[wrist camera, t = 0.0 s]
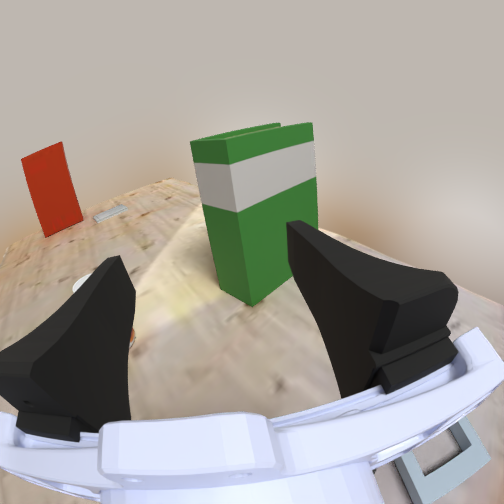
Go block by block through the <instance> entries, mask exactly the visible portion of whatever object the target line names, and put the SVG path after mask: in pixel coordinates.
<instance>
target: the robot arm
mask: <svg viewBox="0 0 504 504" xmlns="http://www.w3.org/2000/svg"><path fill="white" fill-rule="evenodd" d="M286 230H287V249H288V263H289V266H290V269H291V272H292V274H293V277H294V280H295V282H296V284H297V286H298V288H299V290H300V292H301V293H302V295H303V297H304V299H305V301H306V303H307V305H308V307H309V309H310V311H311V313H312V314H313V316H314V318H315V320H316V323H317V325H318V327H319V330H320V332H321V335H322V338H323V341H324V343H325V346H326V349H327V352H328V355H329V358H330V361H331V364H332V367H333V370H334V374H335V377H336V380H337V384H338V387H339V391H340V395H341V398H342V399H340V400H337V401H334V402H331V403H328V404H324V405H321V406H318V407H314V408H311V409H307V410H304V411H300V412H296V413H292V414H288V415H284V416H280V417H276V418H271V419H267V418H266V417H265V416H263V415H261V414H256V413H249V412H243V411H242V412H227V413H216V414H208V415H201V416H192V417H182V418H171V419H156V420H131V414H130V406H129V395H128V353H129V346H130V339H131V333H132V327H133V320H134V314H135V300H136V291H135V289H134V286H133V284H132V282H131V280H130V278H129V275H128V273H127V271H126V269H125V266H124V264H123V262H122V259H121V257H120V255H119V256H114V257H110V258H107V259H106V260H105V261H104V262H103V263H102V264H101V265H100V266H99V267H98V268H97V269H96V270H95V271H94V272H93V273H92V274H91V275H90V276H89V277H88V279H87V280H86V281H85V282H84V283H83V284H82V285H81V286H80V287H79V288H78V289H77V291H76V292H75V293H74V294H73V295H72V296H71V297H70V298H69V299H68V300H67V301H66V302H65V303H64V304H63V305H62V306H61V307H60V308H59V309H58V310H57V311H56V312H55V313H54V314H53V315H52V316H50V317H49V318H48V319H47V320H46V321H44V322H43V323H42V324H41V325H39V326H38V327H37V328H36V329H35V330H33V331H32V332H30V333H29V334H28V335H26V336H25V337H23V338H22V339H20V340H19V341H17V342H16V343H14V344H13V345H11V346H9V347H7V348H6V349H4V350H2V351H1V352H0V395H1V396H2V397H3V398H4V399H5V400H6V401H8V402H9V403H10V404H11V405H12V406H14V407H15V408H16V409H17V410H19V412H18V417H17V416H15V415H13V414H10V413H6V412H1V411H0V468H2V469H3V470H5V471H7V472H9V473H11V474H13V475H15V476H17V477H19V478H21V479H23V480H25V481H28V482H30V483H33V484H36V485H39V486H42V487H45V488H48V489H51V490H54V491H58V492H61V493H65V494H68V495H72V496H76V497H80V498H84V499H88V500H93V501H98V502H101V504H385V503H384V501H383V498H382V495H381V493H380V490H379V487H378V485H377V482H376V480H375V477H374V474H373V472H372V470H374V469H376V468H378V467H380V466H382V465H384V464H386V463H388V462H391V461H393V460H394V459H396V458H398V457H400V456H402V455H404V454H406V453H408V452H410V451H411V450H413V449H415V448H417V447H418V446H420V445H422V444H424V443H425V442H427V441H429V440H430V439H432V438H433V437H435V436H437V435H438V434H440V433H441V432H443V431H444V430H446V429H447V428H449V427H450V426H452V425H453V424H455V423H456V422H458V421H459V420H460V419H462V418H463V417H465V416H466V415H467V414H469V413H470V412H471V411H473V410H474V409H475V408H477V407H478V406H479V405H480V404H481V403H482V402H483V401H484V400H485V399H486V398H487V397H488V396H490V395H491V394H492V393H493V392H494V390H495V389H496V388H497V387H498V386H499V385H500V384H501V383H502V382H503V381H504V362H503V361H502V360H501V358H500V357H499V355H498V354H497V352H496V351H495V350H494V348H493V347H492V346H491V344H490V343H489V341H488V340H487V339H486V337H485V336H484V335H483V334H482V332H481V331H480V330H479V328H478V327H475V328H473V329H471V330H470V331H468V332H466V333H464V334H463V335H461V336H459V337H458V338H457V339H456V340H455V341H454V342H453V343H452V342H451V340H450V339H449V337H448V336H450V334H451V332H450V330H449V329H448V327H447V326H446V325H447V323H448V321H449V319H450V317H451V315H452V313H453V310H454V308H455V306H456V303H457V300H458V289H457V287H456V286H455V285H454V284H453V283H452V281H451V280H450V279H449V278H448V277H447V276H446V275H445V274H444V273H443V272H439V271H431V270H424V269H417V268H413V267H408V266H403V265H399V264H395V263H392V262H388V261H385V260H382V259H379V258H376V257H373V256H370V255H368V254H365V253H363V252H360V251H358V250H356V249H353V248H351V247H349V246H347V245H345V244H343V243H341V242H339V241H337V240H335V239H333V238H332V237H330V236H328V235H326V234H324V233H323V232H321V231H319V230H317V229H316V228H314V227H312V226H311V225H309V224H307V223H305V222H303V221H301V220H296V221H291V222H286Z"/></svg>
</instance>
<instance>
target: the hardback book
mask: <svg viewBox="0 0 504 504" xmlns="http://www.w3.org/2000/svg"><path fill="white" fill-rule="evenodd" d="M190 145H191V150H192V156H193V161H194V166H195V171H196V177H197V182H198V187H199V192H200V197H201V202H202V207H203V212H204V217H205V222H206V226H207V231H208V236H209V240H210V245H211V249H212V254H213V258H214V263H215V267H216V271H217V276H218V280H219V284H220V289H221V290H223V291H225V292H226V293H228V294H230V295H232V296H234V297H235V298H237V299H239V300H241V301H242V302H244V303H246V304H248V305H250V306H252V307H253V306H254V305H256V304H257V303H258V302H260V301H261V300H262V299H264V298H265V297H266V296H267V295H269V294H270V293H271V292H273V291H274V290H275V289H276V288H278V287H279V286H280V285H282V284H283V283H284V282H285V281H287V280H288V279H289V278H291V277H292V276H293V274H292V272H291V269H290V266H289V263H288V249H287V230H286V222H291V221H296V220H301V221H303V222H305V223H307V224H309V225H311V226H312V227H314V228H316V229H317V230H318V206H317V183H316V165H315V150H314V137H313V125H312V123H301V124H295V125H289V126H283V127H281V125H280V123H272V124H267V125H262V126H256V127H250V128H245V129H241V130H236V131H231V132H227V133H223V134H218V135H214V136H210V137H206V138H202V139H198V140H194V141H191V142H190Z"/></svg>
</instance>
